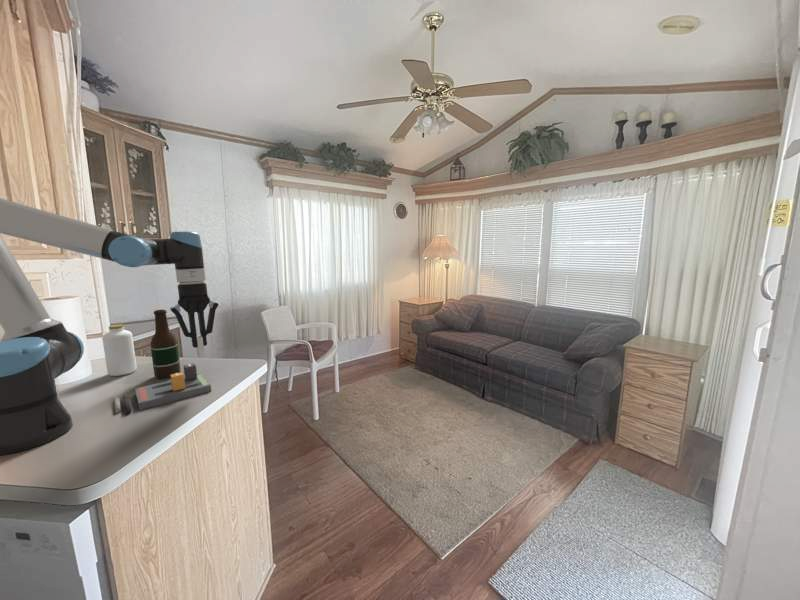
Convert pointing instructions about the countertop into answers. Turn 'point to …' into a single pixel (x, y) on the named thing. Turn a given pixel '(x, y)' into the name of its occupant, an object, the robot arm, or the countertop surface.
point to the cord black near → (126, 405)
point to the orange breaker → (177, 381)
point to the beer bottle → (164, 348)
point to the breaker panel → (170, 392)
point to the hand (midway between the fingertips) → (201, 356)
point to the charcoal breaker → (190, 371)
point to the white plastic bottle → (119, 351)
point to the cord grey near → (117, 405)
